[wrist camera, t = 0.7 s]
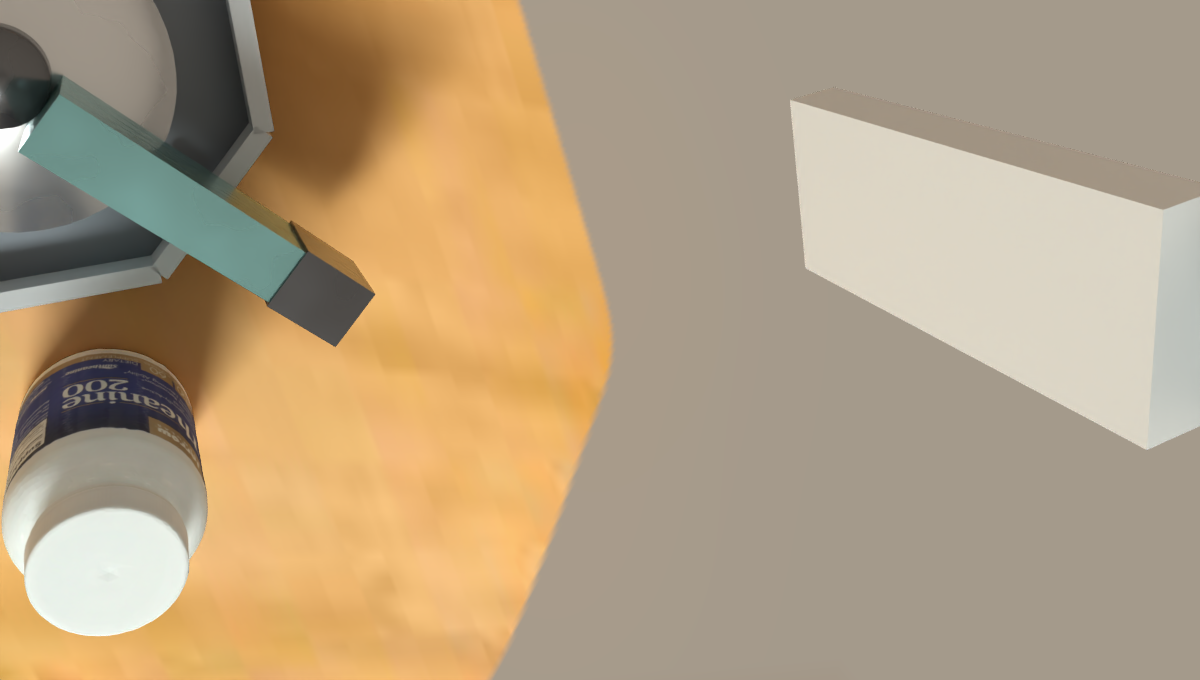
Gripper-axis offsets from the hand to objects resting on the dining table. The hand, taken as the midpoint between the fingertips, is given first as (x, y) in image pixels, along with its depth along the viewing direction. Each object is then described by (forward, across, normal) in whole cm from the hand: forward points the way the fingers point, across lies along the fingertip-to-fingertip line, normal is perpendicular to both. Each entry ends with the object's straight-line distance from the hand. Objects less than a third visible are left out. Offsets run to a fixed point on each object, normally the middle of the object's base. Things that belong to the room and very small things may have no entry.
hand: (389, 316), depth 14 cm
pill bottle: (+23, -7, -10) cm, 26 cm away
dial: (+21, -4, -1) cm, 22 cm away
